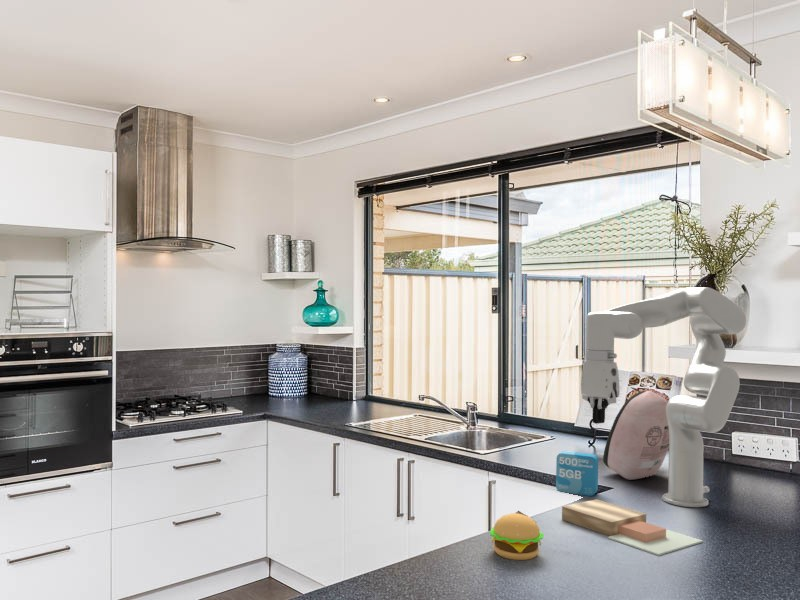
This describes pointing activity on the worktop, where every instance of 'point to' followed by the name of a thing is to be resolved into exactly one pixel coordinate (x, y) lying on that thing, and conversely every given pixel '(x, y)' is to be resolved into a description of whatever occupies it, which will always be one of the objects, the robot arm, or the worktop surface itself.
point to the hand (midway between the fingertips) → (598, 422)
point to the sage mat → (659, 542)
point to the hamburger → (516, 537)
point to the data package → (577, 473)
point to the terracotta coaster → (642, 531)
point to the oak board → (600, 516)
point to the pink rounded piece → (638, 437)
